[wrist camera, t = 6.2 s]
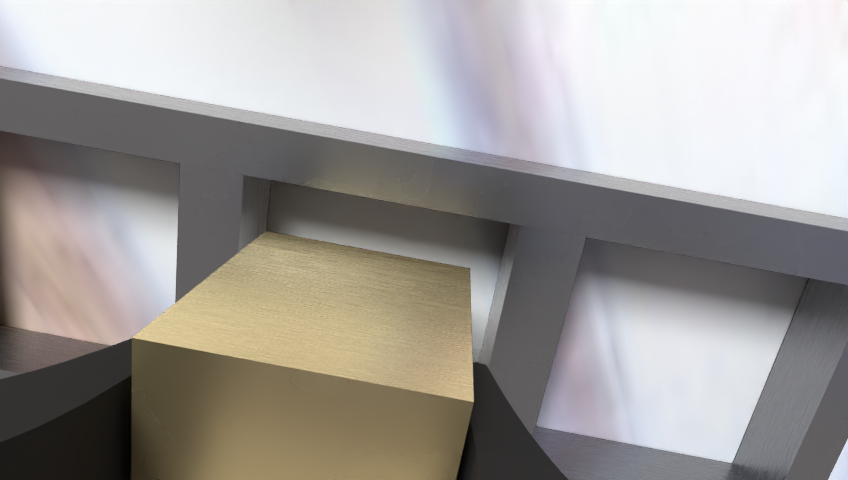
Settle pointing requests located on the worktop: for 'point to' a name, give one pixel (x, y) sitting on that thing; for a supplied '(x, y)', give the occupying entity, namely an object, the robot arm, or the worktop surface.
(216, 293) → the tan rectangular block
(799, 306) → the grey compartment tray
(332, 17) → the worktop surface
